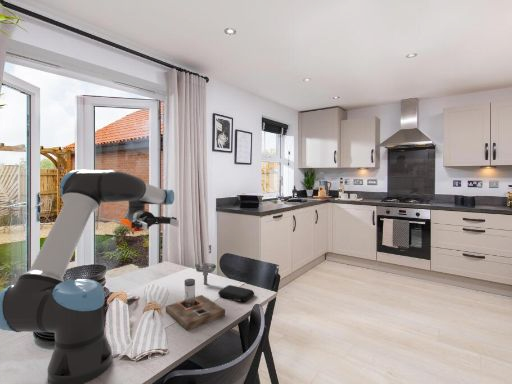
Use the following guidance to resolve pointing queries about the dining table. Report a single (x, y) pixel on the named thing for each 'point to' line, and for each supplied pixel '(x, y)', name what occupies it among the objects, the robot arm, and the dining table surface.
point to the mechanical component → (205, 269)
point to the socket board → (195, 312)
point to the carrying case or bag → (236, 293)
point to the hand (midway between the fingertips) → (162, 225)
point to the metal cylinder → (189, 293)
